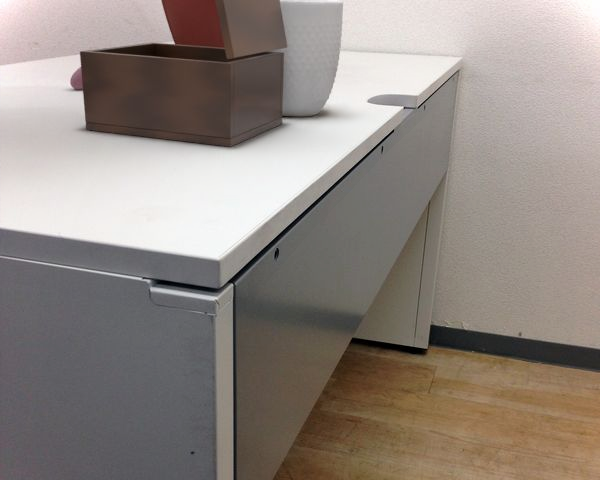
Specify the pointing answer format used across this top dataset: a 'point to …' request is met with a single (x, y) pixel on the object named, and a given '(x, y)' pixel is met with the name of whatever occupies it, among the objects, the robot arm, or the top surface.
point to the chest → (182, 92)
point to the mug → (310, 53)
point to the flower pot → (194, 22)
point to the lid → (251, 26)
